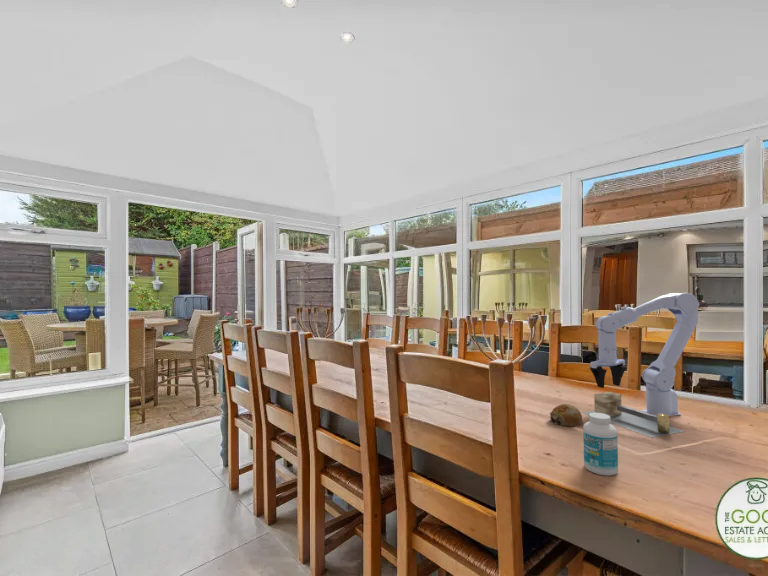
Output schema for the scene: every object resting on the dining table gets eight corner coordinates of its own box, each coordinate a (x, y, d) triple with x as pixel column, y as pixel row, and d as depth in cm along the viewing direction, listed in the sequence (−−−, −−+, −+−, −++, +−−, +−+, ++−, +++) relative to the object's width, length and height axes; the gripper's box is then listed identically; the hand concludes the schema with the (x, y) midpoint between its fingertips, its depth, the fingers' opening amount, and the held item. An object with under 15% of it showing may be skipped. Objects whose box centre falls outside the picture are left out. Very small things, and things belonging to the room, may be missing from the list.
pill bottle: (577, 464, 98) (576, 411, 98) (605, 462, 99) (603, 410, 99) (596, 478, 91) (594, 420, 91) (625, 476, 91) (624, 419, 91)
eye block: (611, 411, 138) (611, 391, 138) (621, 414, 134) (621, 394, 134) (594, 413, 135) (594, 394, 136) (604, 417, 132) (603, 396, 132)
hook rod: (622, 416, 131) (622, 401, 131) (671, 432, 116) (671, 415, 116) (615, 417, 130) (615, 402, 130) (664, 433, 115) (664, 416, 115)
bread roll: (581, 439, 124) (592, 417, 123) (550, 424, 125) (561, 403, 125) (573, 428, 133) (583, 408, 133) (544, 415, 135) (554, 394, 135)
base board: (610, 409, 142) (610, 407, 142) (685, 433, 117) (685, 431, 117) (581, 414, 137) (581, 412, 137) (652, 439, 113) (652, 437, 113)
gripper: (601, 351, 133) (602, 390, 133) (632, 349, 138) (633, 386, 138) (585, 349, 140) (586, 386, 140) (614, 346, 145) (616, 382, 144)
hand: (608, 386), depth 139 cm, fingers open, 7 cm apart
